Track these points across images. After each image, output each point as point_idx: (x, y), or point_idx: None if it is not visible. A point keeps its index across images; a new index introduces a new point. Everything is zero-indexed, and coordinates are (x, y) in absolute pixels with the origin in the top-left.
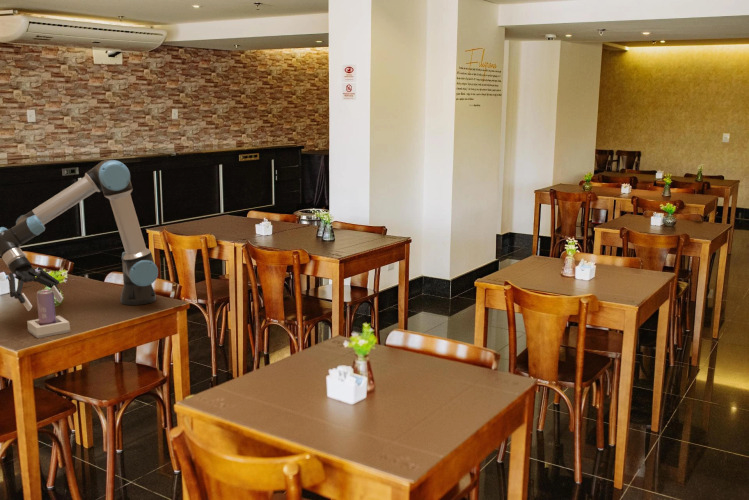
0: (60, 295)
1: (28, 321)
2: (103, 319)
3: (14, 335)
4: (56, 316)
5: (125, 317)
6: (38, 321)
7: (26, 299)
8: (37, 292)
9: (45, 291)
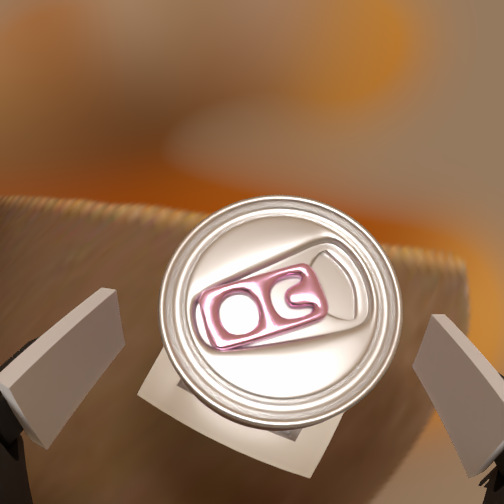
0: (91, 303)
1: (313, 464)
2: (52, 276)
3: (377, 453)
4: (158, 395)
5: (34, 228)
6: (271, 431)
7: (482, 360)
8: (396, 341)
9: (268, 302)
